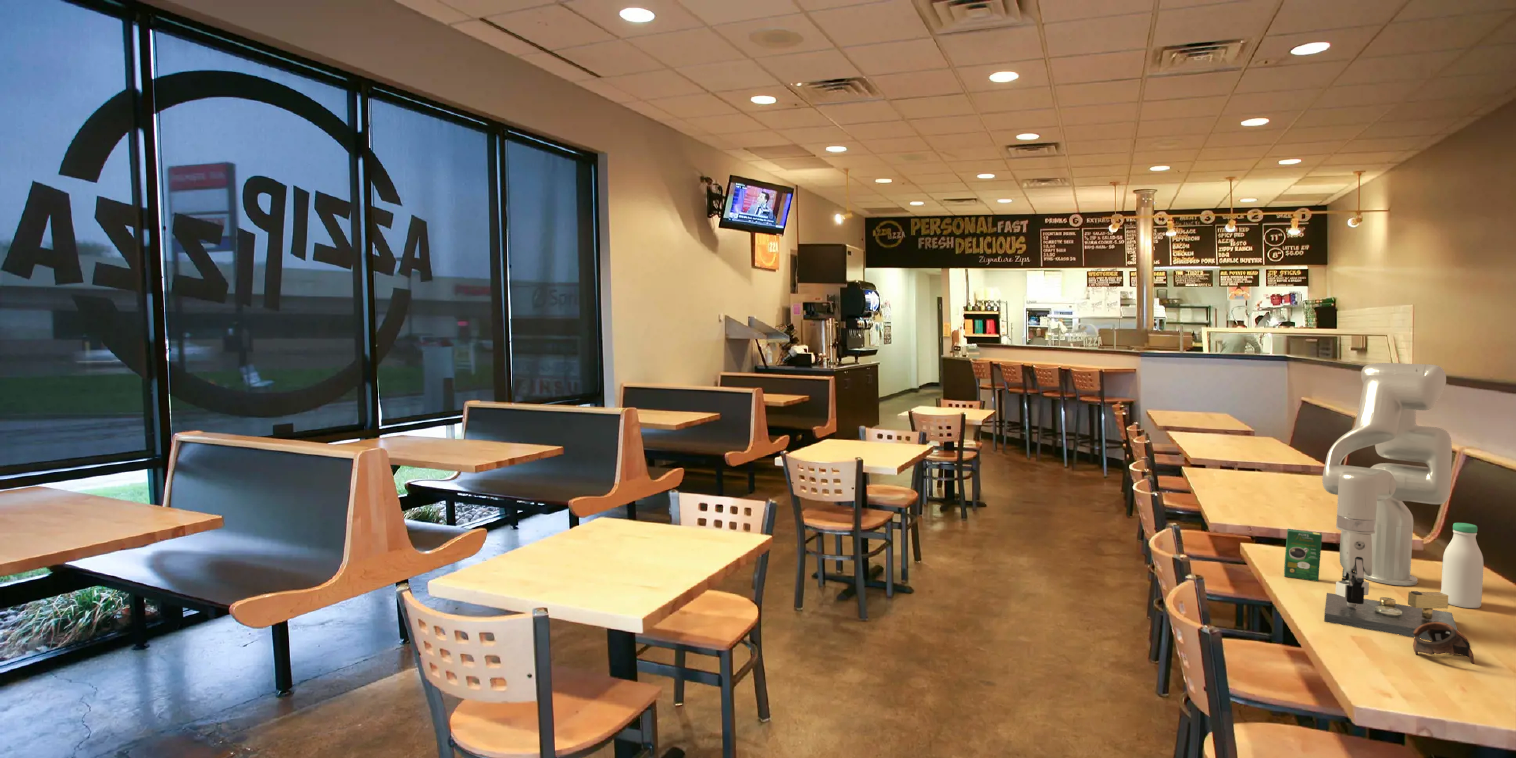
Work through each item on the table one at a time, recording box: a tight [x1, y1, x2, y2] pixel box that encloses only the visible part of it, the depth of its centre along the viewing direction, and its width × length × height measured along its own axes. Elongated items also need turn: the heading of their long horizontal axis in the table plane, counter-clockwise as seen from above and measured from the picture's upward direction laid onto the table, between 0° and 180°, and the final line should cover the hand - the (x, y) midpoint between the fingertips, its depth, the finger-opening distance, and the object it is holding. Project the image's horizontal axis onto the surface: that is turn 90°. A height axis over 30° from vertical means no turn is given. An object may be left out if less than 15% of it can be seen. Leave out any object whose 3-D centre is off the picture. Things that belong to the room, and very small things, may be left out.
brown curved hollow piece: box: [1412, 621, 1475, 665], centre depth 171 cm, size 12×10×8 cm
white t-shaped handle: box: [1335, 580, 1370, 607], centre depth 195 cm, size 7×2×6 cm, turn 104°
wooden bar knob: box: [1407, 590, 1449, 619], centre depth 187 cm, size 7×2×6 cm, turn 88°
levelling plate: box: [1323, 592, 1459, 642], centre depth 191 cm, size 18×24×4 cm
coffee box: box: [1283, 528, 1323, 582], centre depth 223 cm, size 8×3×13 cm, turn 58°
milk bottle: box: [1440, 522, 1484, 609], centre depth 203 cm, size 8×8×20 cm
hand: (1352, 598), depth 195 cm, fingers closed on white t-shaped handle, 5 cm apart
